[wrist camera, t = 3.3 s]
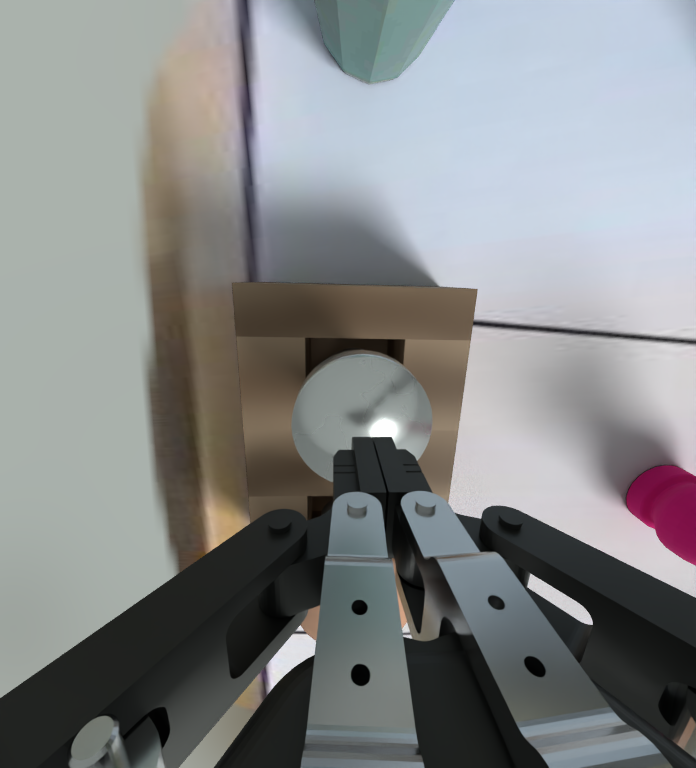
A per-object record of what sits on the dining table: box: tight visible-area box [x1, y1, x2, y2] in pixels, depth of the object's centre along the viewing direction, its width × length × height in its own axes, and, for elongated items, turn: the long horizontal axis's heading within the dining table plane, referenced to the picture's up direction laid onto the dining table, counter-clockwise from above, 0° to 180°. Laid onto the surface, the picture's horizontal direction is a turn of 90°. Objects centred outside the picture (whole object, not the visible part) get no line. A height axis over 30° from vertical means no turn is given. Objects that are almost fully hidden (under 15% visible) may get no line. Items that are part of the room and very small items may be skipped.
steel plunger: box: [291, 348, 433, 482], centre depth 18 cm, size 6×6×7 cm
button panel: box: [232, 282, 478, 524], centre depth 26 cm, size 23×14×7 cm, turn 178°
